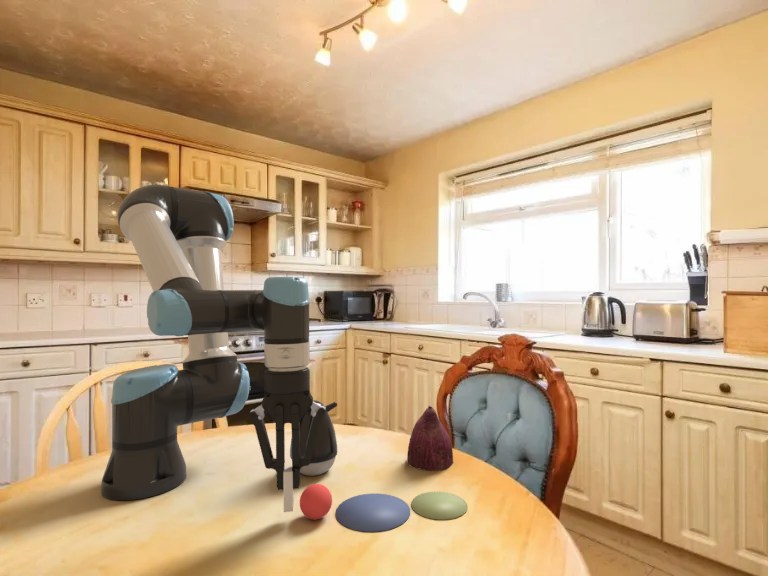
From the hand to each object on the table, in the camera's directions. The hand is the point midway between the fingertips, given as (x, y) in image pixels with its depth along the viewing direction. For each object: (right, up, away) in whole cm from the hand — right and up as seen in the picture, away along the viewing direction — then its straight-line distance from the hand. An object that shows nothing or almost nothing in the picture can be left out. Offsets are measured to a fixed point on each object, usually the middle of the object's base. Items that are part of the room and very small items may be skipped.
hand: (288, 507), depth 73 cm
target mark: (+14, -2, +3) cm, 15 cm away
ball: (+4, +1, +1) cm, 5 cm away
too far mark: (+26, -2, +5) cm, 27 cm away
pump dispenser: (+1, -3, +21) cm, 21 cm away
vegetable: (+27, -3, +25) cm, 37 cm away
